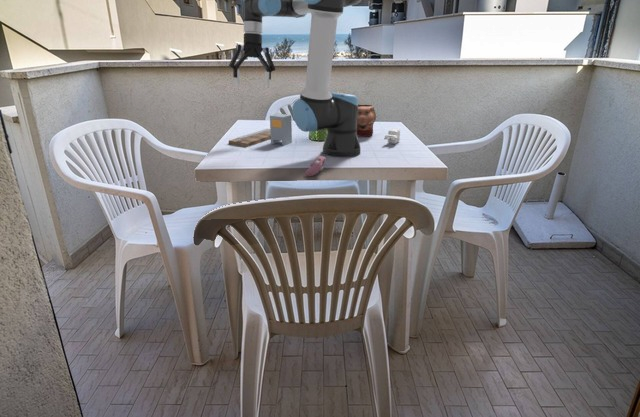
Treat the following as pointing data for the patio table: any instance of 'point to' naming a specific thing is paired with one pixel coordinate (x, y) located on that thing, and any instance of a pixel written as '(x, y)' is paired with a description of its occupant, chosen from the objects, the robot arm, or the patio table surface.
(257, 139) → the board
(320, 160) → the pink mottled elongated lump
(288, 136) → the module
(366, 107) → the decorative planter
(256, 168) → the patio table surface
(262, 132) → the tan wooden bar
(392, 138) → the power adapter
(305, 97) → the robot arm
